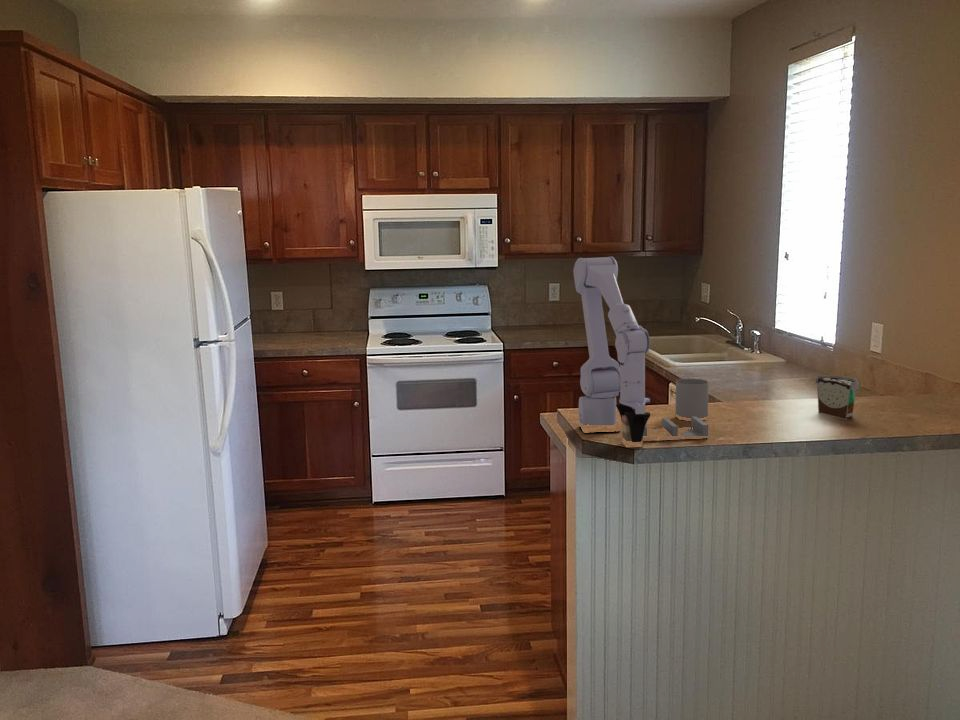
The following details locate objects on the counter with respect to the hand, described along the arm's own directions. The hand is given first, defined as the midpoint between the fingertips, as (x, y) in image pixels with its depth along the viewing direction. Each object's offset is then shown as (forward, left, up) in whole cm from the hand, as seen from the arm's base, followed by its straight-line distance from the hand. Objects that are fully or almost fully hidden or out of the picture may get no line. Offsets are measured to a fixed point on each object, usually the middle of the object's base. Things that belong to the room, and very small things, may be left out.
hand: (632, 437), depth 183 cm
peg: (0, 0, -2) cm, 2 cm away
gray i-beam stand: (+11, +7, -2) cm, 13 cm away
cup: (+22, +24, -2) cm, 33 cm away
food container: (+61, +20, -2) cm, 64 cm away
